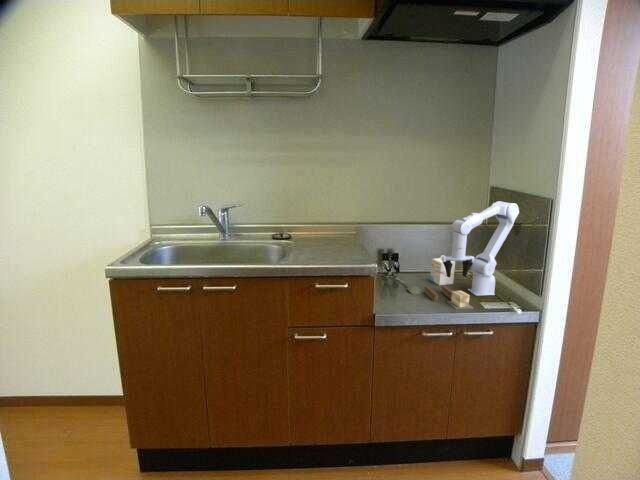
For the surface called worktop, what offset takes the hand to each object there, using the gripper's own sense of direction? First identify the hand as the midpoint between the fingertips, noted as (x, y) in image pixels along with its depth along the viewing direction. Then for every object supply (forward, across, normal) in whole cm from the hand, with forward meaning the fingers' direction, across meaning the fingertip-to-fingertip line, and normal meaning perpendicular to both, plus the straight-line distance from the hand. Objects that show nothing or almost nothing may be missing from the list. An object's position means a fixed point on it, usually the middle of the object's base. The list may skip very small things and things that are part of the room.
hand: (456, 276), depth 178 cm
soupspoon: (+10, +17, -15) cm, 25 cm away
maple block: (+9, +3, +11) cm, 14 cm away
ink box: (+10, -3, -20) cm, 22 cm away
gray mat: (+9, +3, +11) cm, 15 cm away
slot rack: (+9, +7, 0) cm, 12 cm away
